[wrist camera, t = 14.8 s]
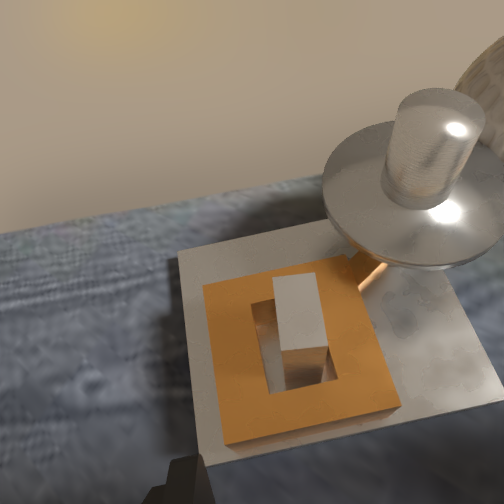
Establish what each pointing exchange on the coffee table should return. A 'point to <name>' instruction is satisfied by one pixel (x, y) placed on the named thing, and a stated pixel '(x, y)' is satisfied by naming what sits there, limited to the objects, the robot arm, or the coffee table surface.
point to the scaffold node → (354, 292)
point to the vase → (488, 93)
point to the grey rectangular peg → (300, 329)
